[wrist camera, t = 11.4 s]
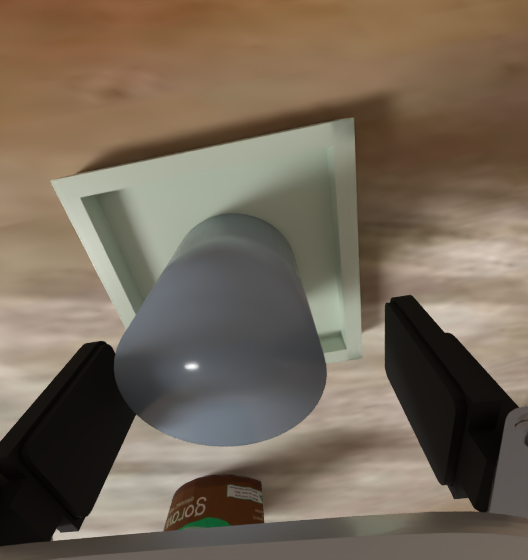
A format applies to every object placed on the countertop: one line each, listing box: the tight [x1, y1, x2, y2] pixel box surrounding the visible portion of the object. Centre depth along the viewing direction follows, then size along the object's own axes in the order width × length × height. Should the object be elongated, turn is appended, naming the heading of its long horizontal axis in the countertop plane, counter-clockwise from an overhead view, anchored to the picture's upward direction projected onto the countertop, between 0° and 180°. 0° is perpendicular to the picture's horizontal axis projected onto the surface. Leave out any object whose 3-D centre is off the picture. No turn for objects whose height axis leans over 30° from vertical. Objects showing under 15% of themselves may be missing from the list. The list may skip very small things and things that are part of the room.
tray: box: [50, 118, 362, 364], centre depth 14 cm, size 12×12×2 cm
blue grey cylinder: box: [114, 213, 327, 446], centre depth 11 cm, size 6×6×7 cm
